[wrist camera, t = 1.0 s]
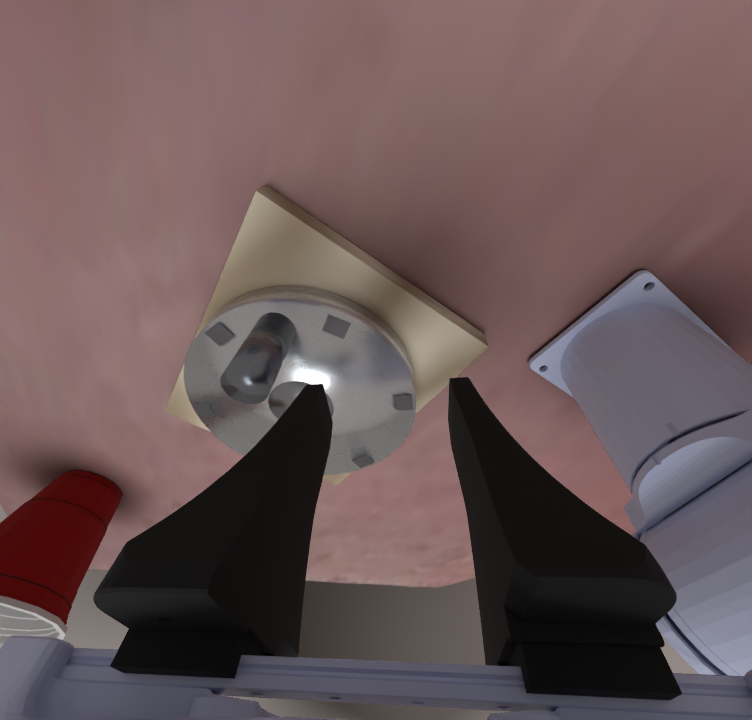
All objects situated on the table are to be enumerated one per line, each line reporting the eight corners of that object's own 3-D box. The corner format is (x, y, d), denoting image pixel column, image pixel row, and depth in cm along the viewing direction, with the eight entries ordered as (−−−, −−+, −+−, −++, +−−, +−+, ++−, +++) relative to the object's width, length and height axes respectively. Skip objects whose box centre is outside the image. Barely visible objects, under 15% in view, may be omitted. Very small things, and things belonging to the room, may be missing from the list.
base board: (483, 333, 21) (489, 348, 20) (339, 470, 31) (336, 487, 29) (265, 184, 17) (254, 190, 16) (174, 397, 26) (162, 413, 25)
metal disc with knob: (418, 450, 26) (423, 537, 21) (242, 454, 27) (205, 536, 22) (410, 276, 18) (414, 347, 12) (159, 295, 19) (68, 365, 14)
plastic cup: (172, 506, 36) (89, 651, 26) (99, 521, 39) (1, 657, 29) (87, 441, 30) (-59, 598, 21) (9, 465, 33) (-151, 611, 23)
